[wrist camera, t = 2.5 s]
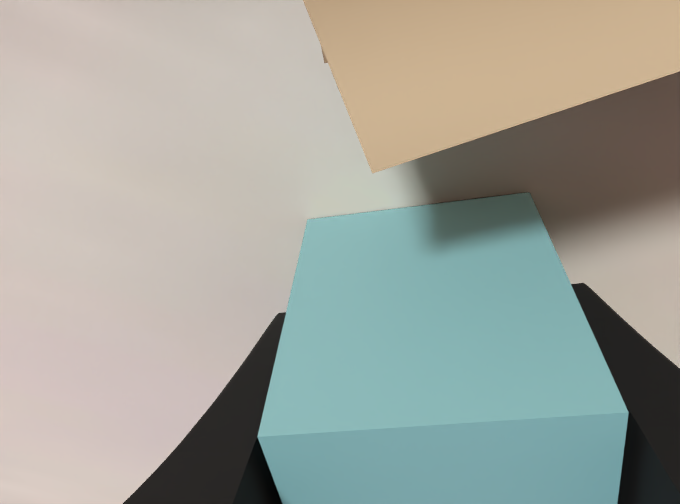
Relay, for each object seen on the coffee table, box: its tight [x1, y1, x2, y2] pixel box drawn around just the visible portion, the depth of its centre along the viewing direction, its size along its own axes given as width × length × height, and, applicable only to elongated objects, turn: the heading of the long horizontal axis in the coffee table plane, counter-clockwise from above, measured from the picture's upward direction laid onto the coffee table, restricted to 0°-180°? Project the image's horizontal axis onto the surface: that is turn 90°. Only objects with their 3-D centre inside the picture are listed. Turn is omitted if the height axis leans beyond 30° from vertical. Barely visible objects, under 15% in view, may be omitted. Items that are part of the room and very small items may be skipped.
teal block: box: [257, 192, 629, 504], centre depth 9 cm, size 4×4×5 cm
